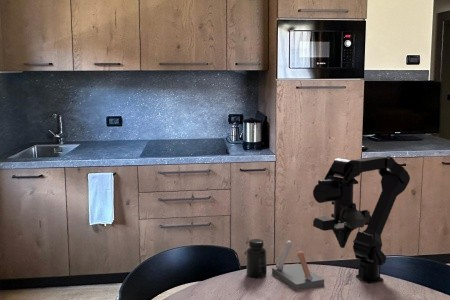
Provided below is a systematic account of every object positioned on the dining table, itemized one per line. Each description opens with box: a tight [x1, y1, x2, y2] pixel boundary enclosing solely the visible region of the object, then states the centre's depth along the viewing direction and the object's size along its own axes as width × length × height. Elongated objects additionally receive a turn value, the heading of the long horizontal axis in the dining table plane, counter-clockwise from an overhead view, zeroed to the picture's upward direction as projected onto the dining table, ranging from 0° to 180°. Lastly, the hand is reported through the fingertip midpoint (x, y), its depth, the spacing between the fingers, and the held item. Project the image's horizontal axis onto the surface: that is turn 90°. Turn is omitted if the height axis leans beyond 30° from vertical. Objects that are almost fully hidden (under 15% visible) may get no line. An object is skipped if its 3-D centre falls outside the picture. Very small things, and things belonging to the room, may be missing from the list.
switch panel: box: [271, 263, 325, 292], centre depth 153 cm, size 10×16×2 cm
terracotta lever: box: [296, 251, 313, 281], centre depth 146 cm, size 2×2×10 cm
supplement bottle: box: [245, 238, 268, 279], centre depth 156 cm, size 7×7×12 cm
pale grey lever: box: [275, 240, 293, 270], centre depth 156 cm, size 2×2×10 cm
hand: (342, 247), depth 145 cm, fingers closed
